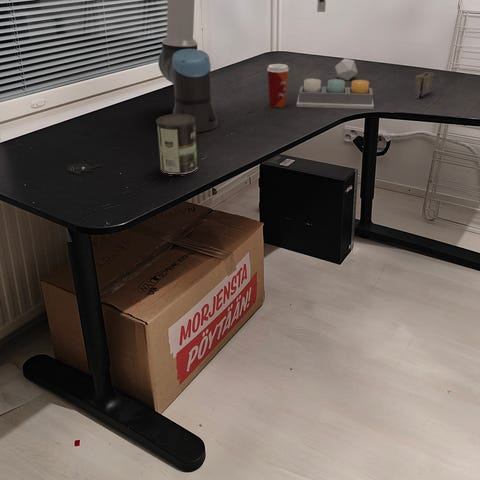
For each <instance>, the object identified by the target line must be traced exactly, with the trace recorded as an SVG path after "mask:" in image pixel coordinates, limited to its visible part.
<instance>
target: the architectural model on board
mask: <svg viewBox="0 0 480 480" xmlns="http://www.w3.org/2000/svg"><path fill="white" fill-rule="evenodd" d="M433 78H434V72H428V71H426V72H424V73H422V74H419V75H416V76H415V78H414V79H413V80H414V82H413V90H412V96H420V97H421V95H422V94H424V93H425V92H427V91H429V89H431V90H432V87H433ZM420 91H421V94H420Z"/></svg>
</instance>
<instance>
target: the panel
mask: <svg viewBox="0 0 480 480" xmlns="http://www.w3.org/2000/svg"><path fill="white" fill-rule="evenodd" d="M351 87H352V86H351ZM351 87H349V86H347V87H344V93H327V88H328V86H321V89H320V92H304V85H301V86H300V88H299V92H298V97H297V101H296V107H297V108H298V107H299V108H300V107H301V108H323V109H324V108H325V109H326V108H327V109H329V108H331V109H354V110H355V109H356V110H357V109H358V110H359V109H360V110H374V107H375V105H374V99H373V96H374V94H373V89H372V87H369V88H368V94H356V93H351Z"/></svg>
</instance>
